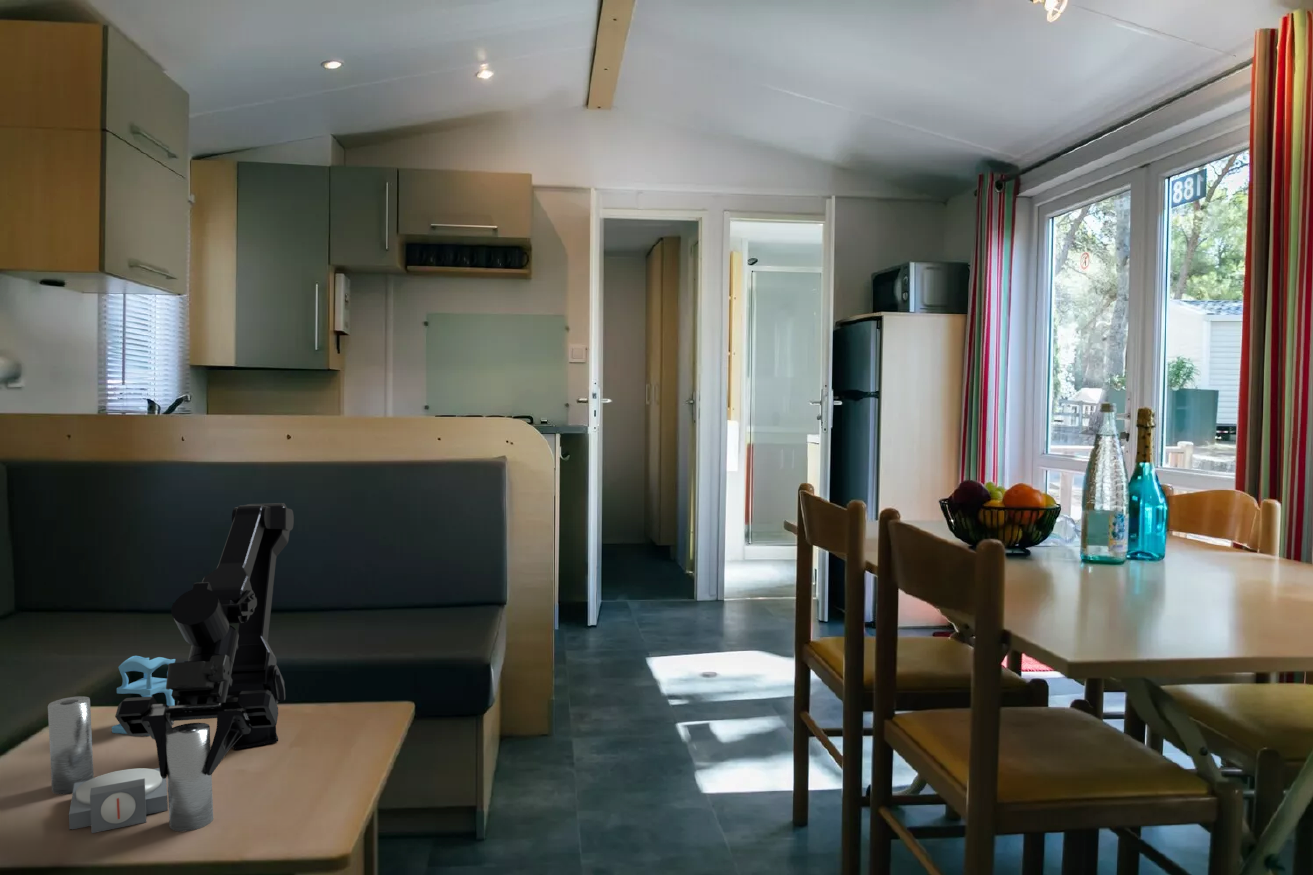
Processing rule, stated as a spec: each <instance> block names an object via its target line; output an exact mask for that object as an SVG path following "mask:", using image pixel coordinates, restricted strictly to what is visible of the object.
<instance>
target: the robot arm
mask: <svg viewBox="0 0 1313 875" xmlns="http://www.w3.org/2000/svg"><path fill="white" fill-rule="evenodd" d="M294 521H295V517H294V511H293V509H291V508H288V507H287V505H286V504H285V502H283V503H282V502H281V503H280V502H278V503H272V502H271V503H249V504H244V505H238V506H237V507H234V508H233V509H232V512H231V526H230V529H229V532H228V536H227V537H226V541H225V544H224V547H223V550H222V552H221V555H220V559H219V562H218V563H217V564H218V565H217V567H216V568H215V569H214V570H213V571H211V572H210V573H208V574H207V575H206V576H204V577H203V579H202V581H201V582H194V583H193V584H192V589H190V590H188V591H186V592H184V593H182V594H181V595H180V596H179V597H178V598H176V600H175V601H174V602H173V603H172V606H171V608H170V609H171V610H170V612H171V616H172V618H173V620H174V622H175V624H176V625H177V628H178V630H179V631H180V633H181V635H182V637H183V639H184V640H185V642H186V643H188V644H189V645H191V646H190V650H189V653H188V654H189V655H188V659H187V661H186V660H185V661H184V662H183V661H182V662H175V663H170V664H169V665H168V664H167V666H168V669H167V672H168V674H167V673H166V679H167V683H166V689H167V690H169V689H171V690H173V691H172V695H171V696H172V698H173V699H174V700H175V701H176V700H177V704H175V705H174V706H168V705H167V704H165V703H158V701H157V700H156V698H155V697H154V696H153V695H152V697H142V696H141V697H140V696H139V697H138V696H137V697H126V698H124V699H123V700H122V701H121V702H120V703H119V704H118V705H117V709H116V712H115V715H114V716H115V718H116V720H117V722H118V724H121V726H122V727H123V728H124V730H125V731H126V733H127V734H126V735H129V736H131V737H132V736H133V737H136V736H138V737H139V736H148V735H150V737H151V739H152V740H154V741H155V745H156V753H157V759H158V761H157V762H158V766H159V767H158V768H160V775H161V777H162V778H163V779H165V778H166V779H167V778H168V776H167V752H166V731H168V730H169V729H171V728H173V725H174V722H175V721H176V722H177V721H193V720H207V719H216V729H215V733H214V737H213V740H212V744H211V745H210V748H211V750H210V754H209V757H208V761H207V768H206V773H207V775H211V774H212V775H213V773H214V772H215V771H216V769H217V767H218V766H219V765H220V763H221V762H222V761H223V759H224V757H225V756H226V755H227V754H228V753H229V750H231V748H232V750H240V749H245V748H252V747H256V746H262V745H269V744H272V743H273V744H274V743H277V742H279V737H278V734H277V723H278V717H279V707H278V703H279V702H284V701H285V700H286V688H285V680H284V677H283V675H282V674H281V670H280V669H279V667H278V665H277V657H276V656H275V654H274V652H273V650H272V649H271V646H270V644H269V642H268V641H269V631H270V630H269V629H270V623H271V612H272V604H273V594H274V583H275V574H276V565H277V557H278V556H279V555H280V553H281V552H282V551H283V550H284V548H285V547H286V546H287V545H288V543H289V540H290V539H289V538H290V532H291V531H292V530H293V528H294ZM231 624H237V629H236V628H235V627H234V626H233V625H231Z"/></svg>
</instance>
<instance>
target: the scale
mask: <svg viewBox="0 0 1313 875" xmlns="http://www.w3.org/2000/svg"><path fill="white" fill-rule="evenodd" d="M71 794H72V796H71V802H70V807H69V811H68V823H69V824H68V825H69V826H68V827H69V830H70V829H72V830H76V829H81V828H86V827H91V830H90V831H91V834H95V833H100V832H103V831H109V830H113V829H119V828H123V827H128V826H134V825H139V824H143V823H147V815H151V814H156V813H162V812H166V811H169V800H168V781H167V777H166V778H165V779H163V778H162V777H161V775H160V768H159V767H157V768H143V767H141V768H127V769H121V770H115V771H111V772H108V773H104V774H100V775H98V776H96V777H94V778H93V779H90V780H88V781H84V782H78V783H74V789H73V793H71Z"/></svg>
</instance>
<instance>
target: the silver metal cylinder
mask: <svg viewBox="0 0 1313 875" xmlns="http://www.w3.org/2000/svg"><path fill="white" fill-rule="evenodd" d="M210 750H211V728H210V724H208V723H205V722H191V723H183V724H180V725H179V724H178V725H176V726H174V727H173V726H172V728H171V729H169V730H168V731H166V752H167V800H168V816H169V817H168V818H169V829H170V830H172V831H175V832H189V831H193V830H198V829H202V828H203V827H204V828H205V827H206V826H208V825H209V824H211V823H212V822H213V820H214V804H213V777H212V775H213V773H212V774H211V775H207V773H206V768H207V761H208V757H209V754H210Z"/></svg>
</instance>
